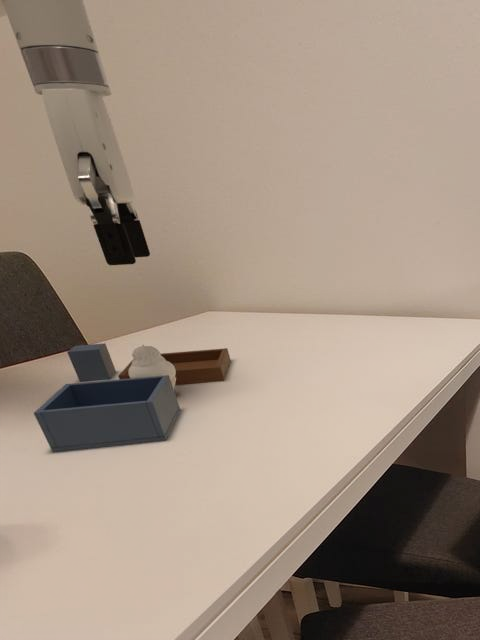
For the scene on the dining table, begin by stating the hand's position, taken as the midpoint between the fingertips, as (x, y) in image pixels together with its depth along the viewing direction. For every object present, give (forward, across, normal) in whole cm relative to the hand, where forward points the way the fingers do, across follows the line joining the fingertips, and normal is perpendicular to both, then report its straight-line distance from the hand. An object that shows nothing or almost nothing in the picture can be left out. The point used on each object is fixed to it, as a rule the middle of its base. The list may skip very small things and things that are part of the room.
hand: (130, 260), depth 75 cm
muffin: (+17, 0, -2) cm, 17 cm away
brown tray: (+17, -13, -1) cm, 21 cm away
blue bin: (+17, +14, -5) cm, 22 cm away
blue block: (+17, -16, -14) cm, 27 cm away
